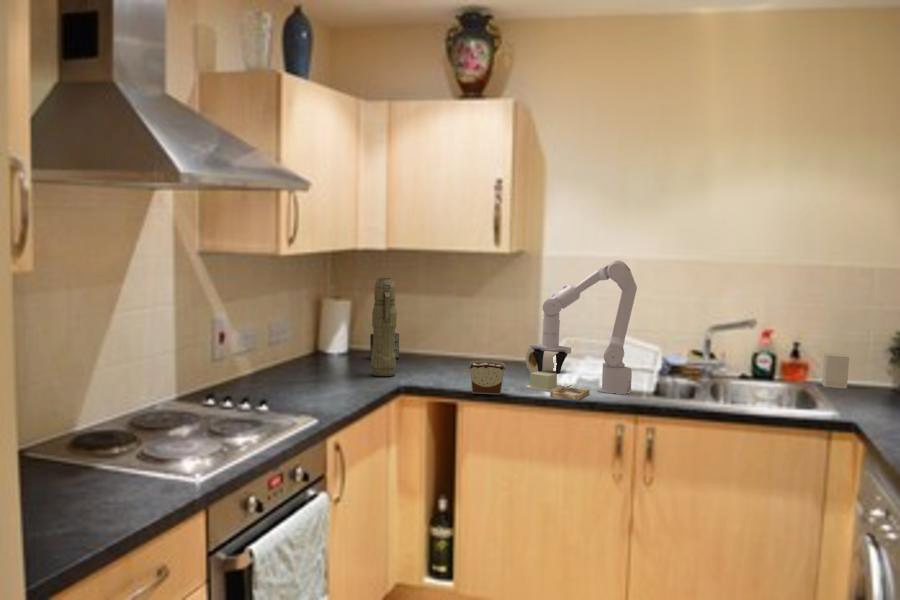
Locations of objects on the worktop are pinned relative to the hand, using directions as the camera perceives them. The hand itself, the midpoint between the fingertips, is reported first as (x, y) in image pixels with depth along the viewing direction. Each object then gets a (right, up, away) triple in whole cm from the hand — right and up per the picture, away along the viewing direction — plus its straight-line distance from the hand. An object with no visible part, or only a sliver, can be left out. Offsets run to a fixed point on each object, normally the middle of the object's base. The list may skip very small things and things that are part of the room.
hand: (549, 372), depth 270 cm
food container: (-22, -6, -10) cm, 25 cm away
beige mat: (0, -5, 0) cm, 5 cm away
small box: (-61, +1, +49) cm, 78 cm away
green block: (+1, -3, -5) cm, 6 cm away
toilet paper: (+1, -3, +28) cm, 28 cm away
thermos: (-59, -2, +16) cm, 61 cm away
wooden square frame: (+5, -7, -13) cm, 15 cm away
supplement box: (+103, -7, +10) cm, 104 cm away
